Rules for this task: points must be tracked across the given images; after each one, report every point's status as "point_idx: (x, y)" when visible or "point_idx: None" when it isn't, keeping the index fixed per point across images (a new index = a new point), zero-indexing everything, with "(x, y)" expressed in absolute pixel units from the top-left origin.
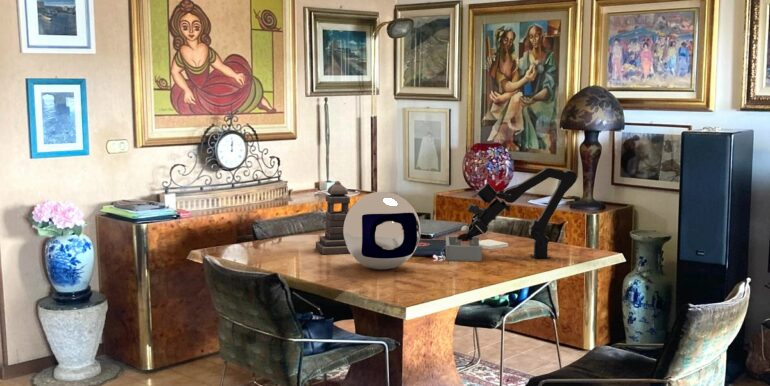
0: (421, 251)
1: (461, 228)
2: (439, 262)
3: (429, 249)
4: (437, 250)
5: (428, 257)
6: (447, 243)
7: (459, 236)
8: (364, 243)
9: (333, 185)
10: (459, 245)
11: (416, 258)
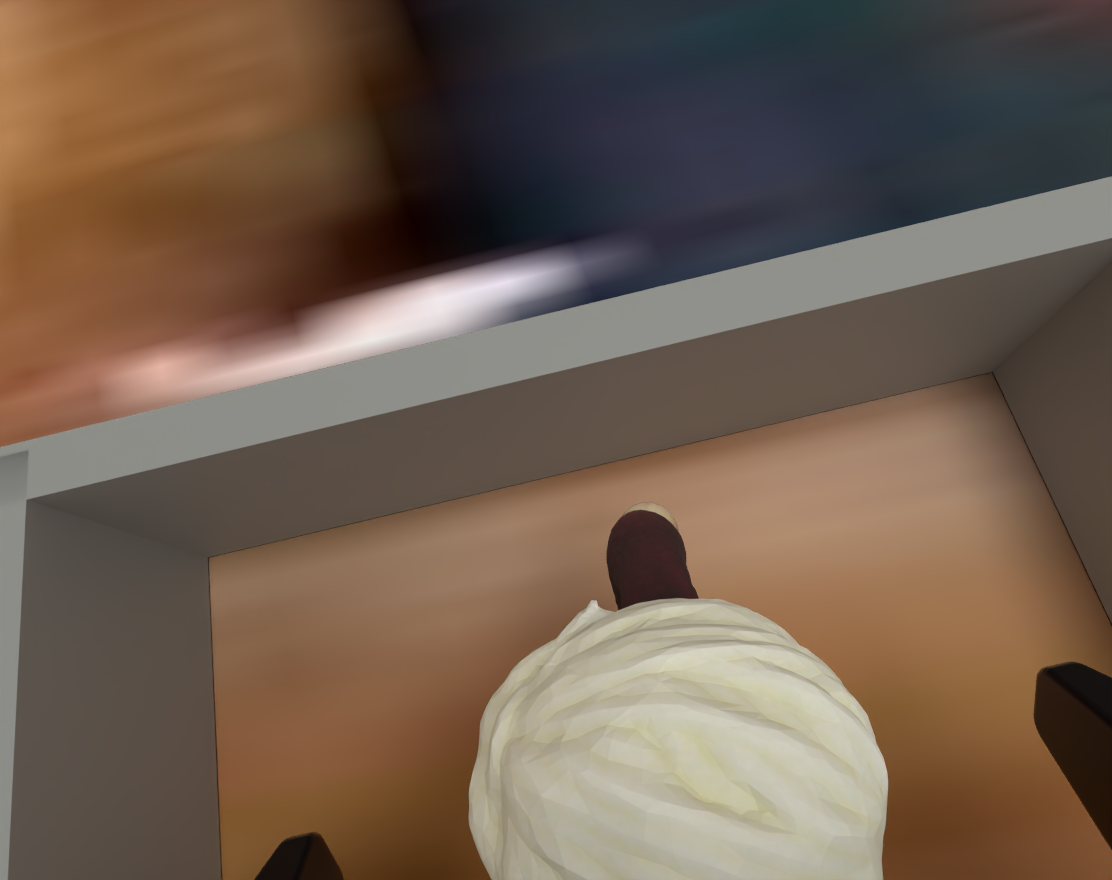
0: (719, 73)
1: (647, 614)
2: None
3: (918, 117)
4: None
5: (336, 251)
6: (251, 405)
7: (618, 587)
8: None
9: None
10: None
11: (242, 147)
